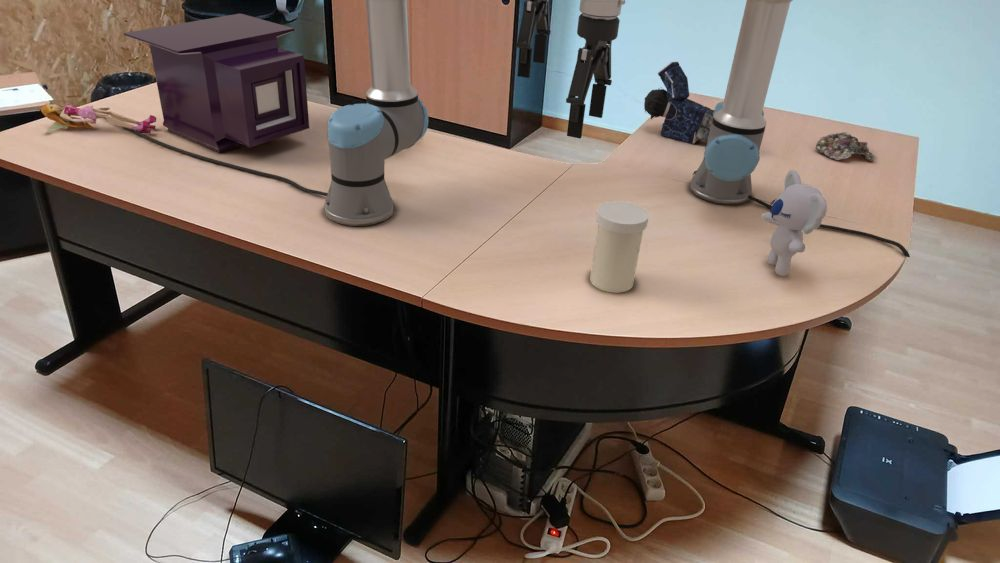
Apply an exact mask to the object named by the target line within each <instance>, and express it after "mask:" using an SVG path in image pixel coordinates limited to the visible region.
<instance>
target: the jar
mask: <svg viewBox="0 0 1000 563" xmlns="http://www.w3.org/2000/svg"><path fill="white" fill-rule="evenodd" d="M643 234H644V230H643V231H641V232H638V233H632V234H624V233H617V232H613V231H610V230H607V229H605V228H603V227H601V226H600V225H599V224H598V223H597V228H596V234H595V240H594V249H593V255H592V263H591V268H590V276H589V281H590V283H591V284H592V286H594V287H595V288H596V289H598V290H600V291H604V292H607V293H613V294H615V293H617V294H620V293H624V292H628V291H629V290H631V289H632V288H633V286H634V282H635V277H636V271H637V266H638V261H639V255H640V250H641V244H642V240H643Z"/></svg>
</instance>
